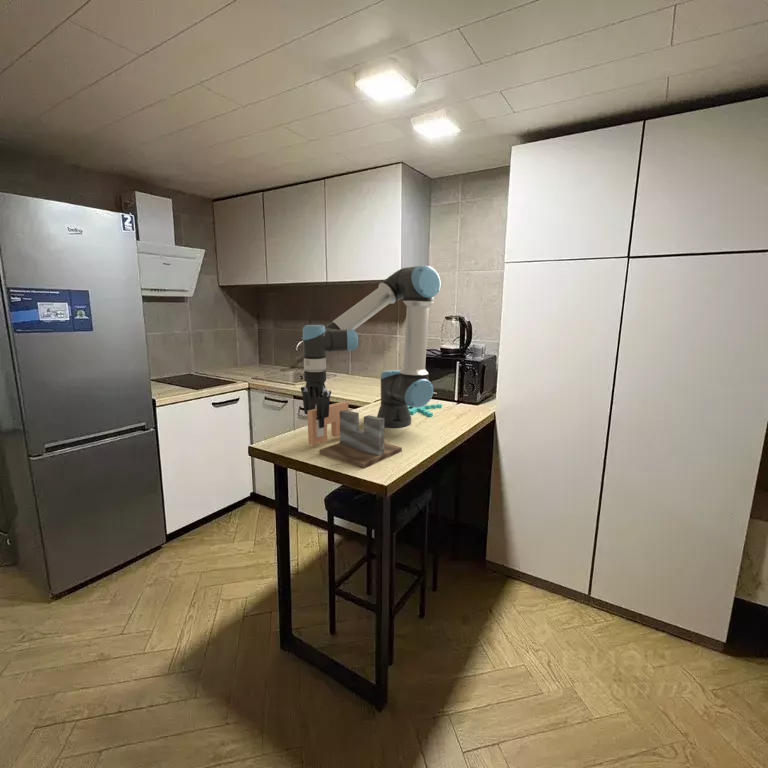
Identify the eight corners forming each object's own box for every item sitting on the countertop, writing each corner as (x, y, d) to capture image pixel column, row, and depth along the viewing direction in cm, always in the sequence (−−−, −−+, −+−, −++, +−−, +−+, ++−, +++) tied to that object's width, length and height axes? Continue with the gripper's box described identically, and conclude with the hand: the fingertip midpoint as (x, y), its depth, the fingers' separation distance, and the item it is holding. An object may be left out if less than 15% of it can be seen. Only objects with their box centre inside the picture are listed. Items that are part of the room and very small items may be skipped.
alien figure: (441, 408, 209) (404, 404, 216) (442, 404, 209) (404, 400, 216) (431, 418, 191) (390, 413, 198) (431, 413, 190) (390, 409, 198)
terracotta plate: (344, 431, 161) (343, 401, 159) (348, 432, 160) (348, 402, 158) (308, 443, 148) (307, 410, 145) (313, 445, 146) (312, 411, 144)
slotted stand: (359, 439, 158) (359, 404, 156) (401, 451, 146) (402, 413, 143) (319, 453, 143) (319, 415, 140) (363, 468, 130) (363, 426, 128)
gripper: (291, 369, 146) (294, 433, 151) (322, 373, 137) (324, 442, 141) (308, 366, 152) (310, 428, 156) (338, 371, 142) (340, 437, 147)
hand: (317, 435), depth 149 cm, fingers closed on terracotta plate, 2 cm apart
